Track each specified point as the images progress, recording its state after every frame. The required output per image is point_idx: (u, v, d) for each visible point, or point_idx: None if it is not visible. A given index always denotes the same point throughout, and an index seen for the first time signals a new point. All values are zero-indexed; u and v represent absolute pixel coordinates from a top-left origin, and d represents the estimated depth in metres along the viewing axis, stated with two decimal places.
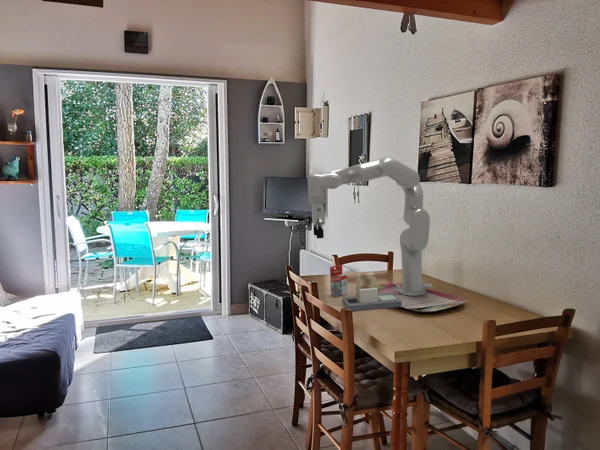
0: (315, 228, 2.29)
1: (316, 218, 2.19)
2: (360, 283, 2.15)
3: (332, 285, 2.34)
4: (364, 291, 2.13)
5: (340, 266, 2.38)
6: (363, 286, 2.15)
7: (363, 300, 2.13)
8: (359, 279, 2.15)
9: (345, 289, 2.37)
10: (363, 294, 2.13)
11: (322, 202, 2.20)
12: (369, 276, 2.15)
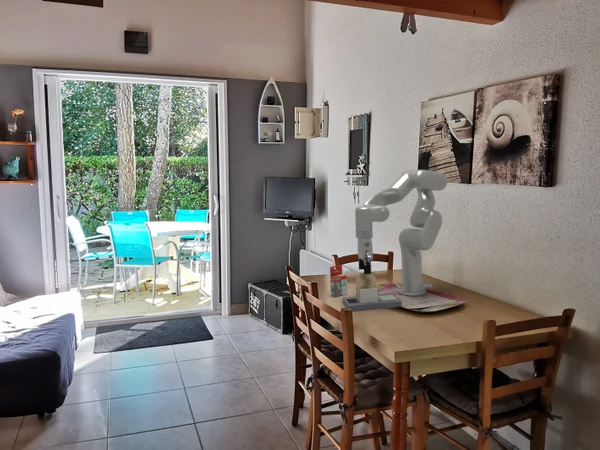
0: (360, 262, 2.20)
1: (364, 253, 2.10)
2: (360, 283, 2.15)
3: (332, 285, 2.34)
4: (364, 291, 2.13)
5: (340, 266, 2.38)
6: (363, 286, 2.15)
7: (363, 300, 2.13)
8: (359, 279, 2.15)
9: (345, 289, 2.37)
10: (363, 294, 2.13)
11: (370, 236, 2.12)
12: (369, 276, 2.15)
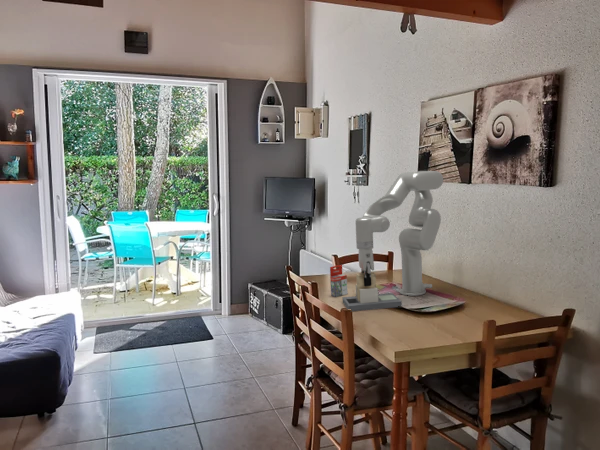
0: None
1: (365, 264, 2.11)
2: (360, 283, 2.15)
3: (332, 285, 2.34)
4: (364, 291, 2.13)
5: (340, 266, 2.38)
6: (363, 286, 2.15)
7: (363, 300, 2.13)
8: (359, 279, 2.15)
9: (345, 289, 2.37)
10: (363, 294, 2.13)
11: (371, 247, 2.12)
12: None
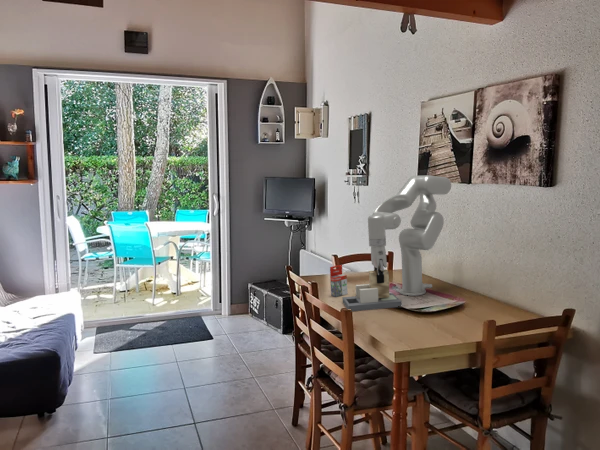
0: None
1: (378, 261, 2.12)
2: (373, 280, 2.16)
3: (332, 285, 2.34)
4: (364, 291, 2.13)
5: (340, 266, 2.38)
6: (376, 283, 2.16)
7: (363, 300, 2.13)
8: (372, 276, 2.15)
9: (345, 289, 2.37)
10: (363, 294, 2.13)
11: (384, 244, 2.13)
12: None
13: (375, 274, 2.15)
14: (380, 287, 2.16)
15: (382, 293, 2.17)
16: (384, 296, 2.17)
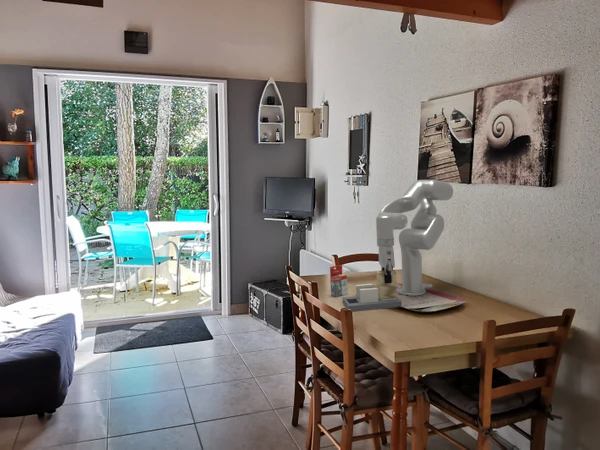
0: None
1: (386, 261, 2.12)
2: (380, 280, 2.16)
3: (332, 285, 2.34)
4: (364, 291, 2.13)
5: (340, 266, 2.38)
6: (384, 283, 2.16)
7: (363, 300, 2.13)
8: (379, 276, 2.15)
9: (345, 289, 2.37)
10: (363, 294, 2.13)
11: (392, 244, 2.13)
12: None
13: (383, 274, 2.15)
14: (388, 287, 2.16)
15: (389, 293, 2.17)
16: (391, 296, 2.17)
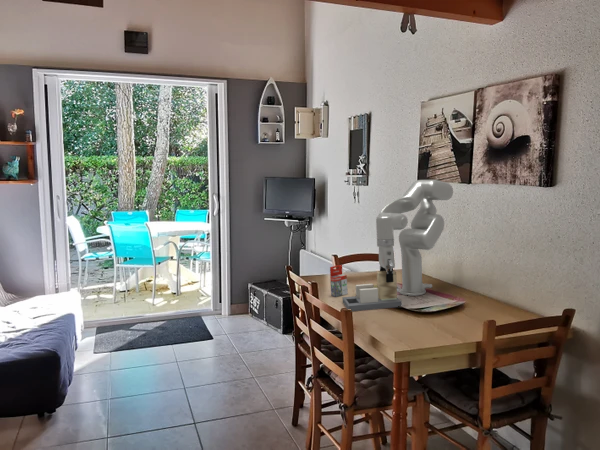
0: (382, 270, 2.22)
1: (386, 262, 2.12)
2: (381, 281, 2.16)
3: (332, 285, 2.34)
4: (364, 291, 2.13)
5: (340, 266, 2.38)
6: (384, 284, 2.16)
7: (363, 300, 2.13)
8: (380, 277, 2.16)
9: (345, 289, 2.37)
10: (363, 294, 2.13)
11: (392, 245, 2.13)
12: None
13: (383, 275, 2.16)
14: (388, 288, 2.17)
15: (389, 294, 2.17)
16: (392, 297, 2.17)
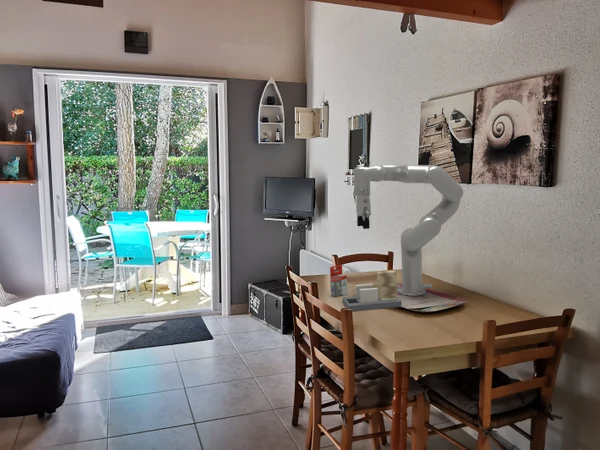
0: (359, 219, 2.37)
1: (363, 209, 2.27)
2: (381, 281, 2.16)
3: (332, 285, 2.34)
4: (364, 291, 2.13)
5: (340, 266, 2.38)
6: (384, 284, 2.16)
7: (363, 300, 2.13)
8: (380, 277, 2.16)
9: (345, 289, 2.37)
10: (363, 294, 2.13)
11: (368, 194, 2.29)
12: (390, 274, 2.16)
13: (383, 275, 2.16)
14: (388, 288, 2.17)
15: (389, 294, 2.17)
16: (392, 297, 2.17)
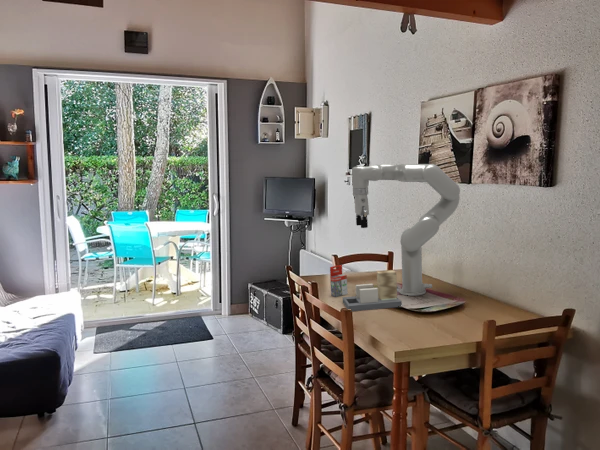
0: (358, 218, 2.39)
1: (361, 208, 2.29)
2: (381, 281, 2.16)
3: (332, 285, 2.34)
4: (364, 291, 2.13)
5: (340, 266, 2.38)
6: (384, 284, 2.16)
7: (363, 300, 2.13)
8: (380, 277, 2.16)
9: (345, 289, 2.37)
10: (363, 294, 2.13)
11: (366, 193, 2.30)
12: (390, 274, 2.16)
13: (383, 275, 2.16)
14: (388, 288, 2.17)
15: (389, 294, 2.17)
16: (392, 297, 2.17)
